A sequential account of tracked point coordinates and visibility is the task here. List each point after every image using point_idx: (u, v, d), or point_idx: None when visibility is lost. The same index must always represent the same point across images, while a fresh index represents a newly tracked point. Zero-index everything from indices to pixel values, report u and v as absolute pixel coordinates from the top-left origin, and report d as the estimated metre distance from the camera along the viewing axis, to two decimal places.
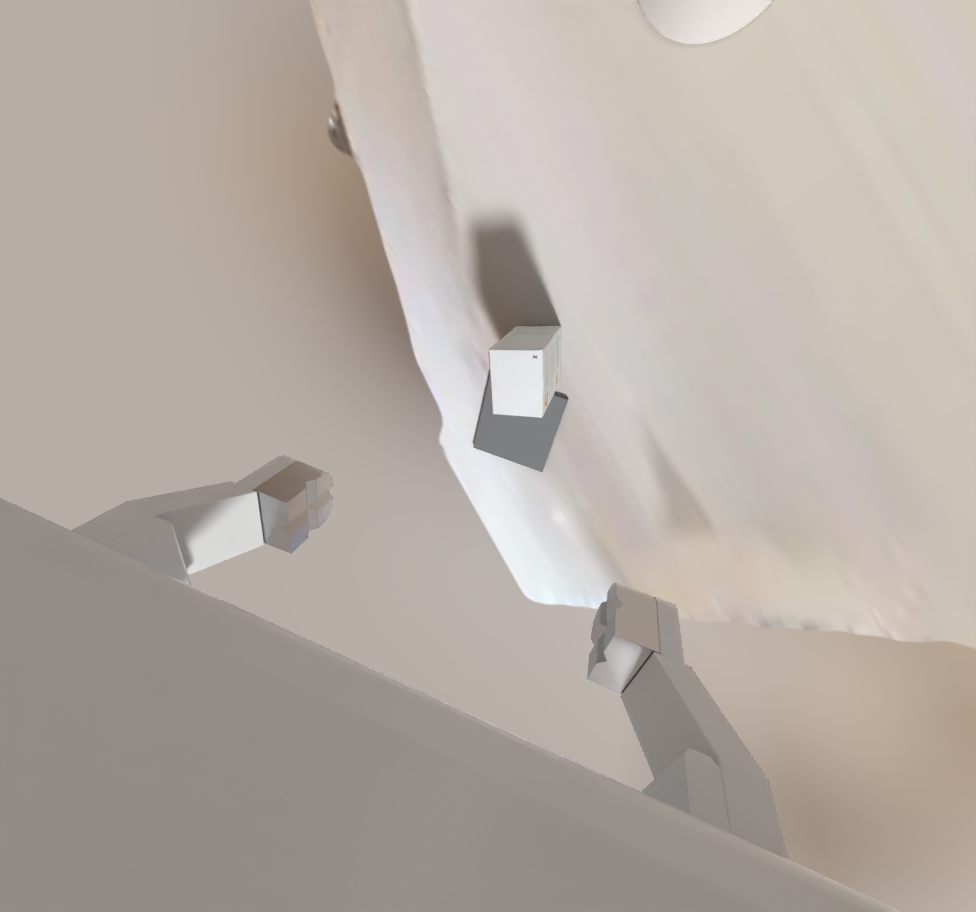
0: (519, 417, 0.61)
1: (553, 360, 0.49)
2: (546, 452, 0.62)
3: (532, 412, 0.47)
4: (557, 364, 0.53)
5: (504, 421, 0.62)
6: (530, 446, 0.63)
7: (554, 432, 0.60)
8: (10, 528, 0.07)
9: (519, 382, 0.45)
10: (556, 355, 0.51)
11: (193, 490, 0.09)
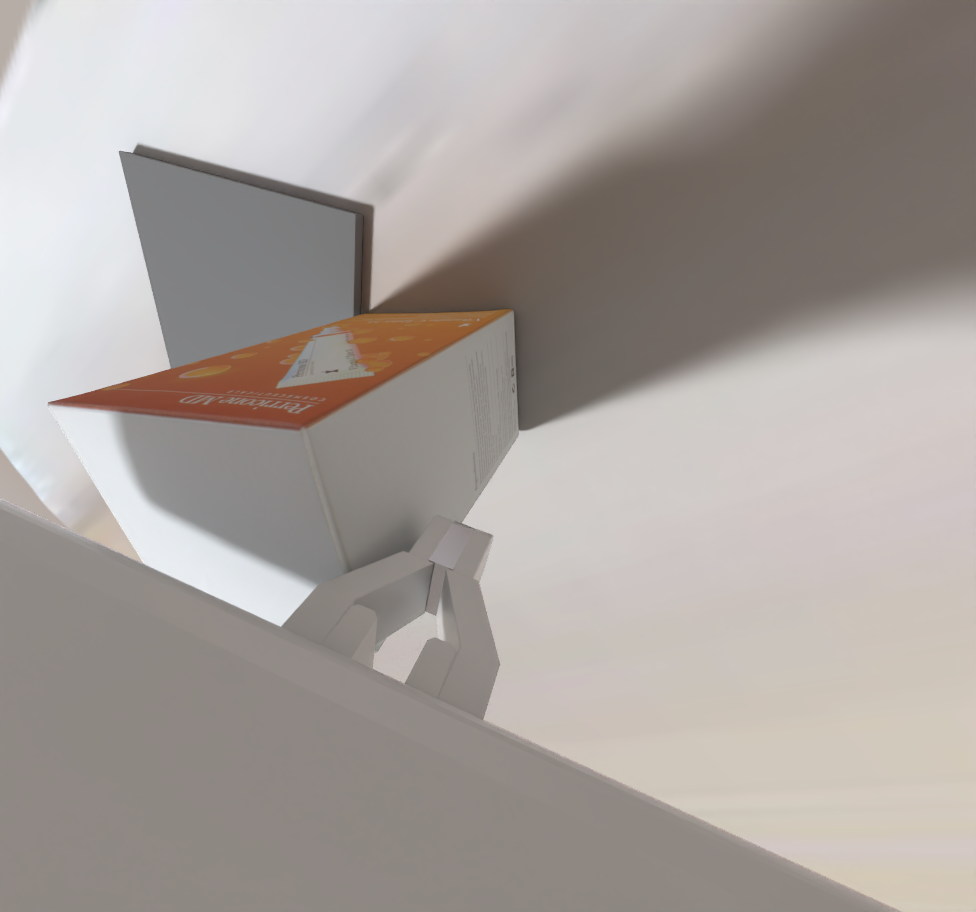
0: (268, 320, 0.21)
1: None
2: None
3: (153, 564, 0.12)
4: None
5: (242, 273, 0.20)
6: (213, 351, 0.23)
7: None
8: (10, 528, 0.07)
9: (218, 548, 0.10)
10: None
11: (374, 565, 0.08)
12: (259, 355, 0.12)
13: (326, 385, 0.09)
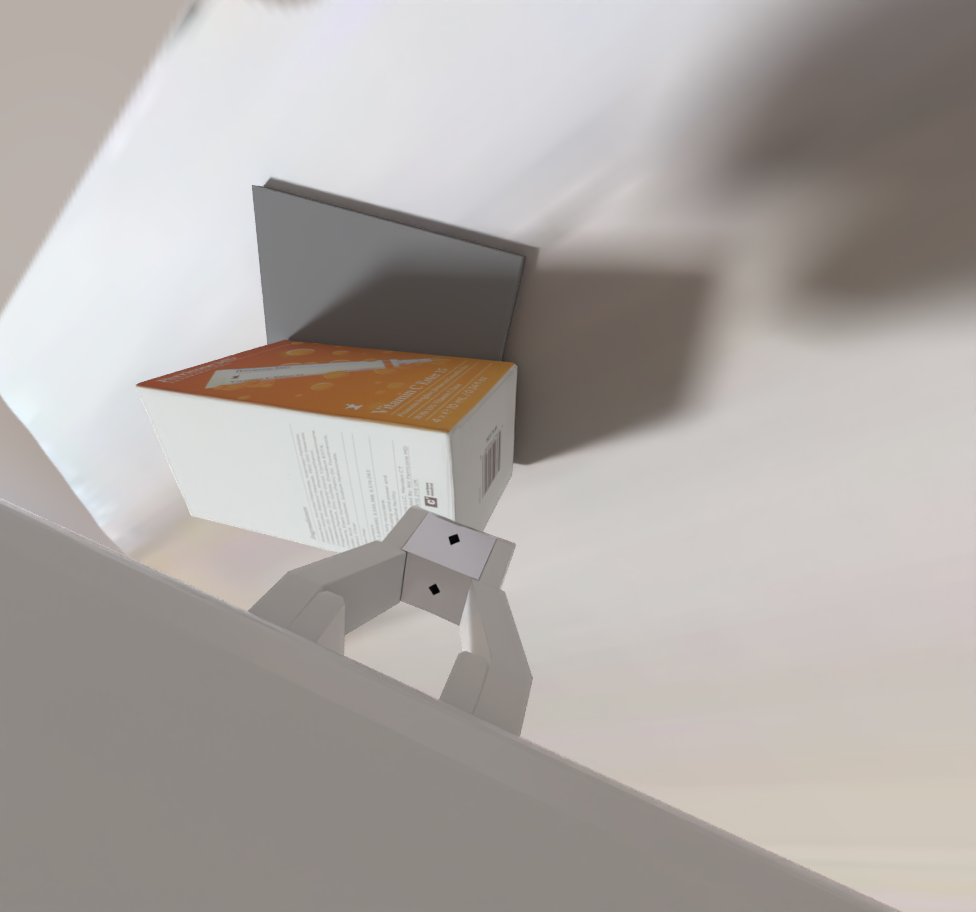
0: None
1: None
2: None
3: None
4: None
5: (374, 312, 0.19)
6: None
7: None
8: (10, 528, 0.07)
9: None
10: None
11: (346, 553, 0.09)
12: (332, 355, 0.19)
13: (201, 380, 0.15)
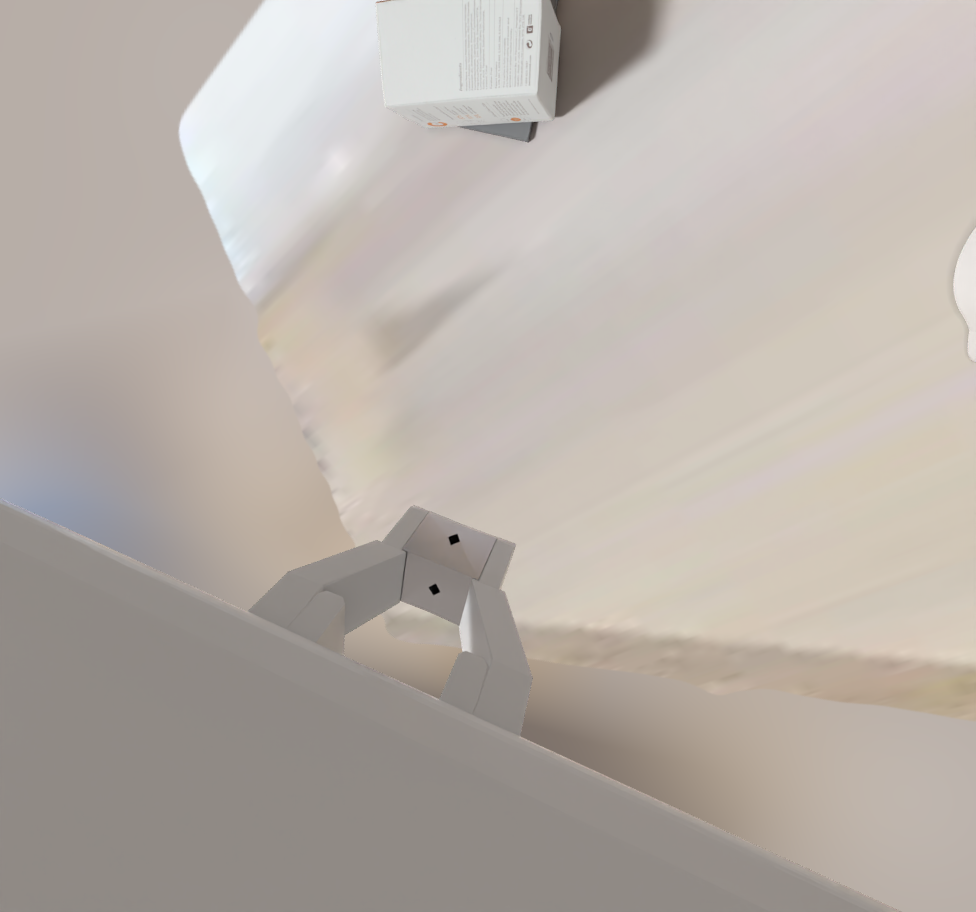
0: None
1: (470, 112, 0.34)
2: None
3: None
4: (511, 114, 0.34)
5: None
6: None
7: (472, 125, 0.38)
8: (10, 528, 0.07)
9: None
10: (496, 110, 0.33)
11: (346, 553, 0.09)
12: None
13: None
